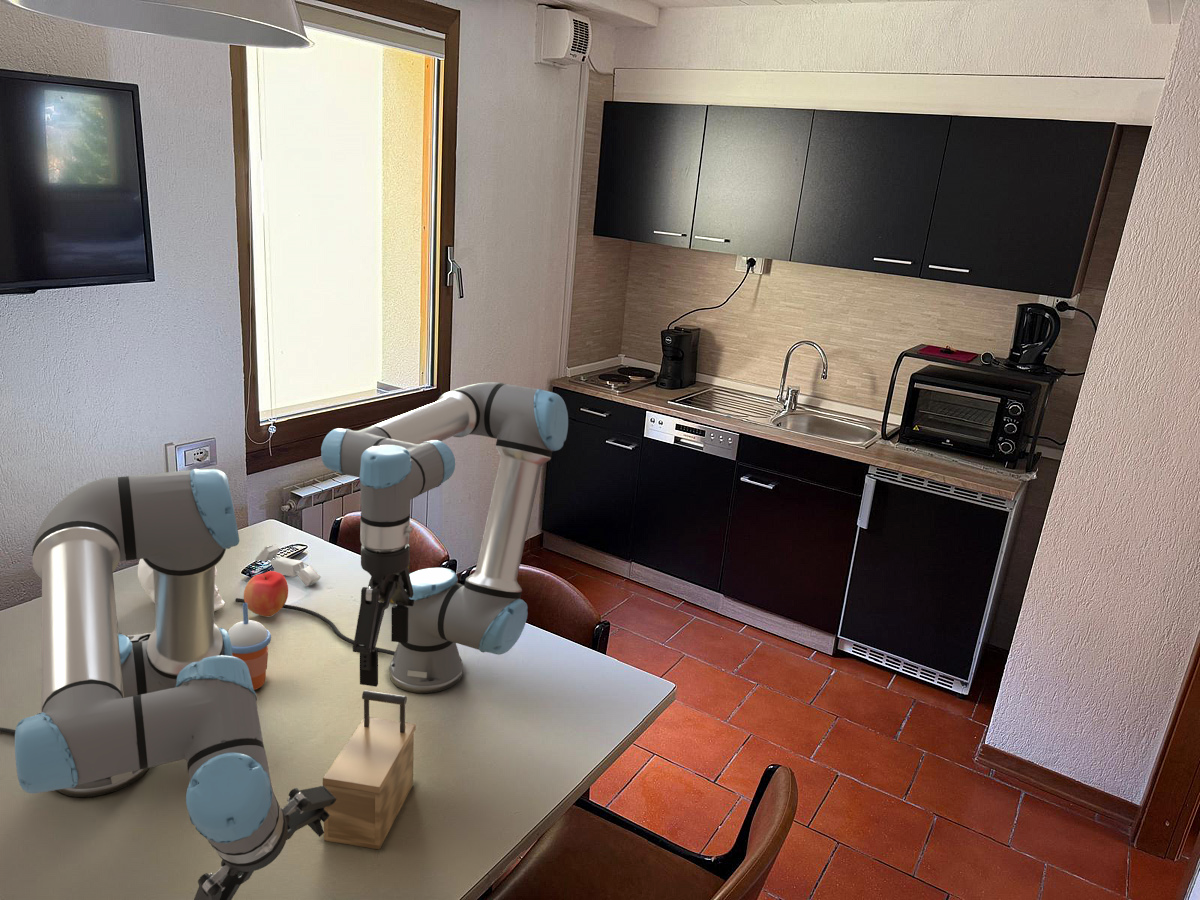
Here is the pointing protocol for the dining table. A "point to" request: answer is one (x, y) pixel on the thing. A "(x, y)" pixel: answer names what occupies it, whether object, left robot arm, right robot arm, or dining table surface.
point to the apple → (266, 593)
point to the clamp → (288, 565)
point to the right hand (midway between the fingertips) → (385, 662)
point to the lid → (371, 748)
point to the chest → (369, 807)
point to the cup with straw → (251, 646)
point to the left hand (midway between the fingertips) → (273, 869)
